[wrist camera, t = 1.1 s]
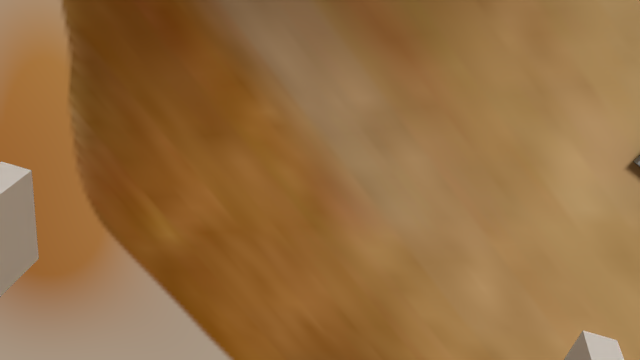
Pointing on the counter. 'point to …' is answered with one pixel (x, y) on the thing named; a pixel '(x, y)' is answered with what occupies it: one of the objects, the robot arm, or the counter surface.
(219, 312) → the counter surface
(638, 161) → the pad
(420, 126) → the counter surface
